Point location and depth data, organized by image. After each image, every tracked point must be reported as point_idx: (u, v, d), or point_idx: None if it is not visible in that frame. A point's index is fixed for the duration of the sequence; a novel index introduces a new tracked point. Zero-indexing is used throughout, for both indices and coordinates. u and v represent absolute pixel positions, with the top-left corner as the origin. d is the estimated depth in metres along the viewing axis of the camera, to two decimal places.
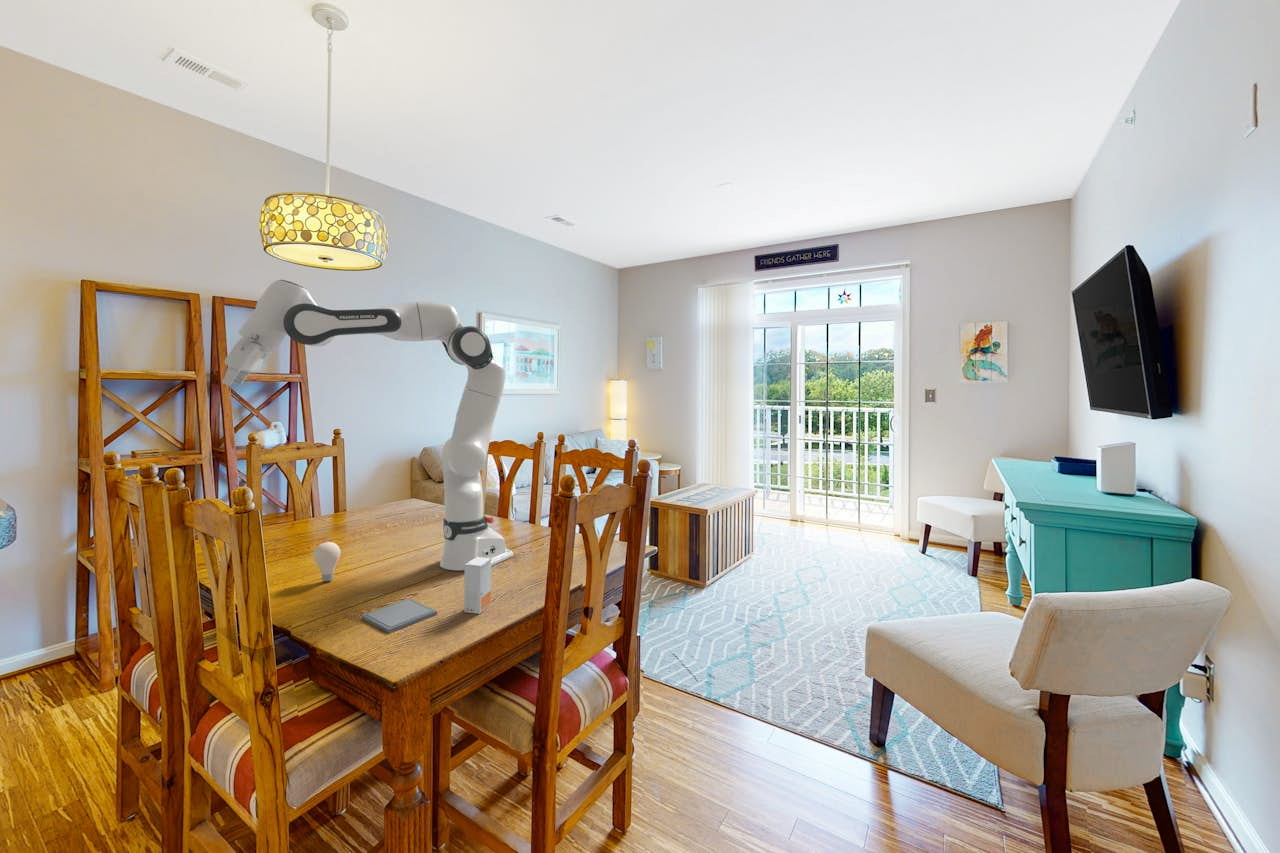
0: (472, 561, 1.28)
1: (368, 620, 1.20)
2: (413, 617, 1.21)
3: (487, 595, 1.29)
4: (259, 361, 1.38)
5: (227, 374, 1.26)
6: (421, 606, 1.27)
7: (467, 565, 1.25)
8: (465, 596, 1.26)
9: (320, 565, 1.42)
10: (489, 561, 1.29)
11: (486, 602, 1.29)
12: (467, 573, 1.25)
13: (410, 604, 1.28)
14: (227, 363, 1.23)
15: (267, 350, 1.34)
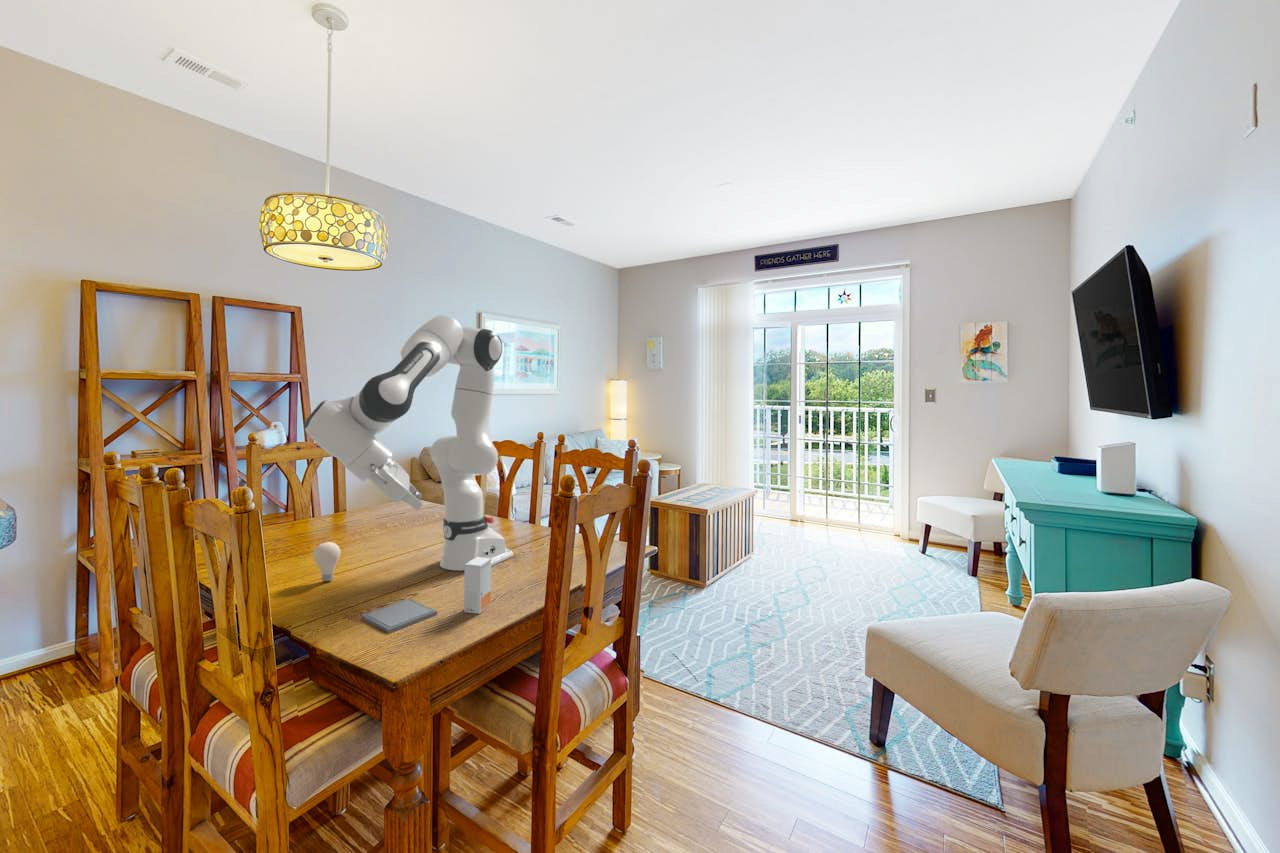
0: (472, 561, 1.28)
1: (368, 620, 1.20)
2: (413, 617, 1.21)
3: (487, 595, 1.29)
4: (400, 471, 1.24)
5: (410, 503, 1.15)
6: (421, 606, 1.27)
7: (467, 565, 1.25)
8: (465, 596, 1.26)
9: (320, 565, 1.42)
10: (489, 561, 1.29)
11: (486, 602, 1.29)
12: (467, 573, 1.25)
13: (410, 604, 1.28)
14: (398, 499, 1.11)
15: (390, 460, 1.18)
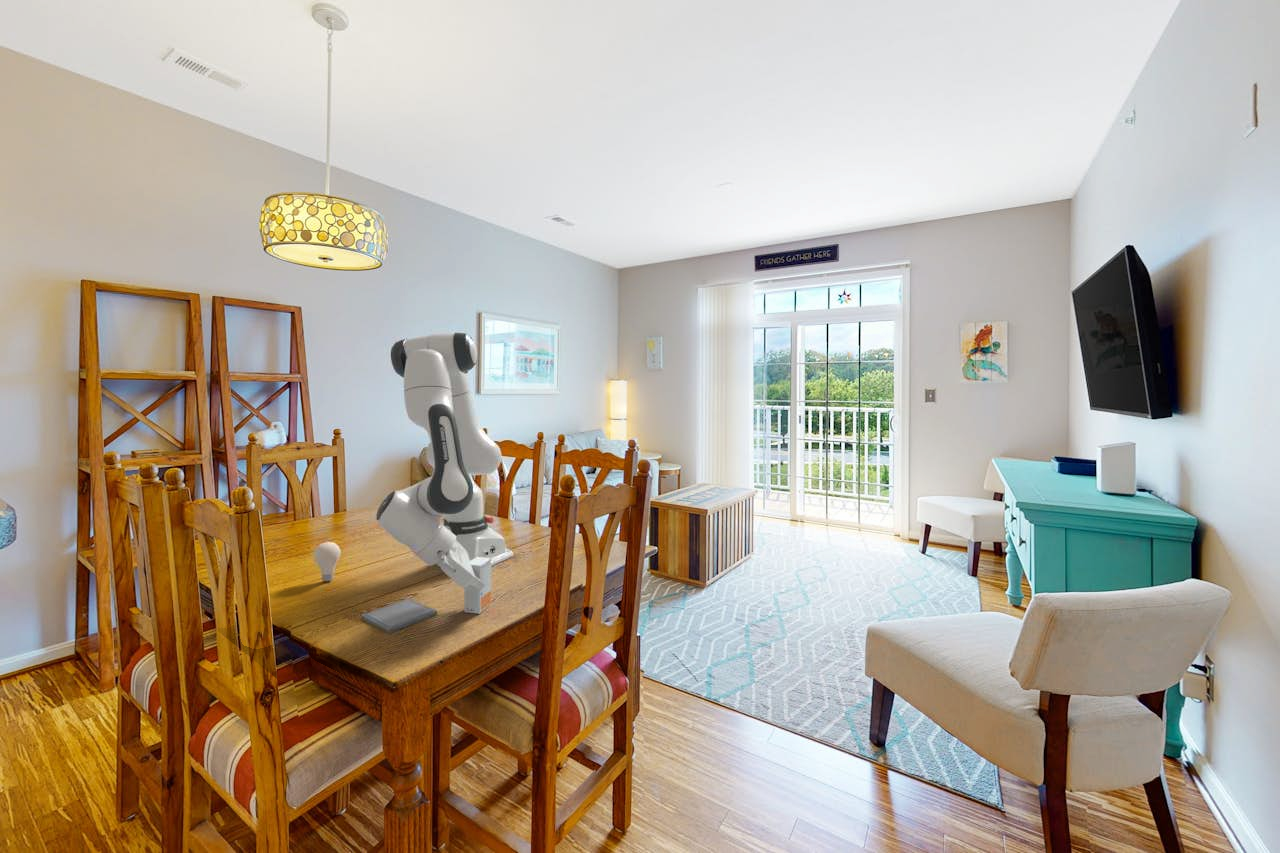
0: (472, 561, 1.28)
1: (368, 620, 1.20)
2: (413, 617, 1.21)
3: (487, 595, 1.29)
4: (460, 550, 1.30)
5: (474, 585, 1.23)
6: (421, 606, 1.27)
7: None
8: (465, 596, 1.26)
9: (320, 565, 1.42)
10: (489, 561, 1.29)
11: (486, 602, 1.29)
12: None
13: (410, 604, 1.28)
14: (466, 586, 1.18)
15: (454, 544, 1.24)
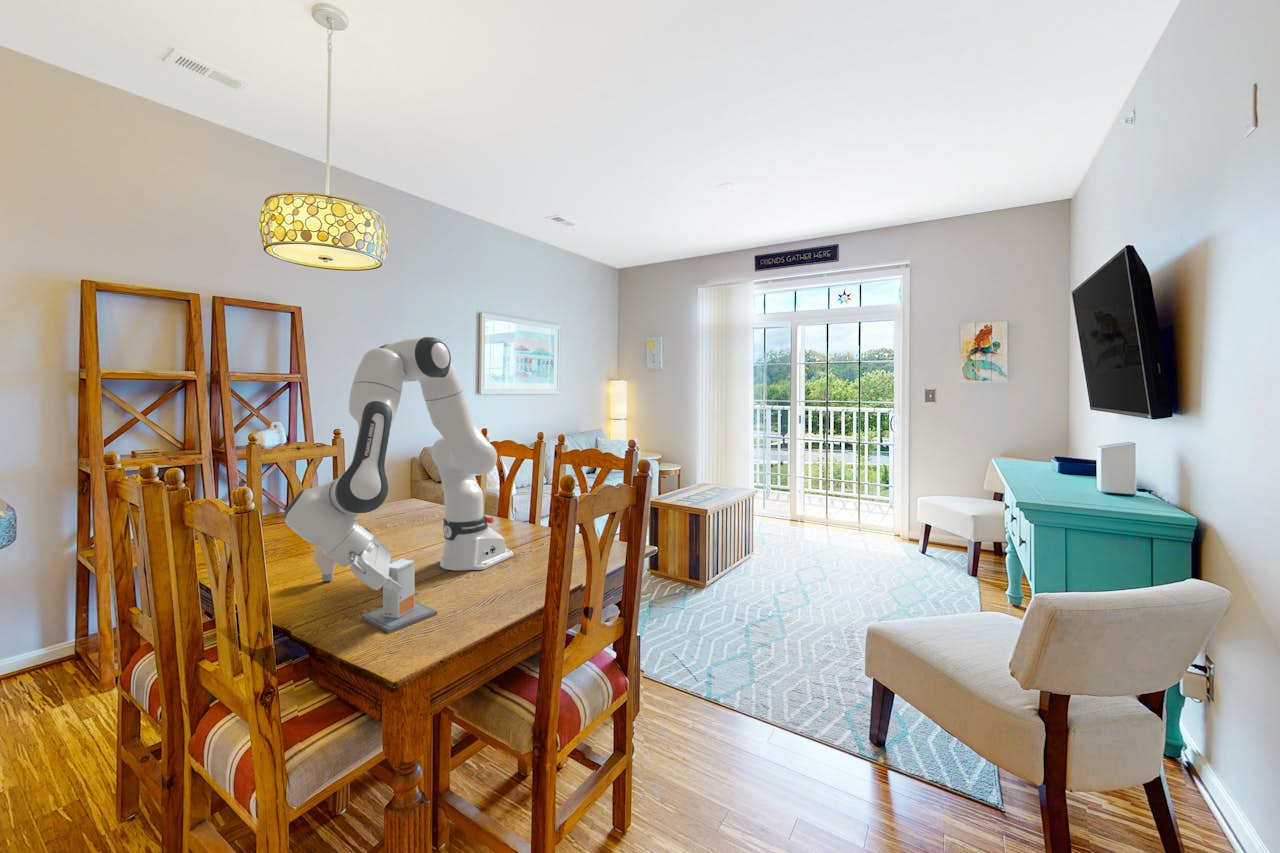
0: (392, 563, 1.23)
1: (368, 620, 1.20)
2: (413, 617, 1.21)
3: (409, 599, 1.24)
4: (380, 551, 1.25)
5: (390, 588, 1.17)
6: (421, 606, 1.27)
7: None
8: (384, 600, 1.21)
9: (320, 565, 1.42)
10: (411, 563, 1.24)
11: (407, 606, 1.23)
12: None
13: None
14: (378, 588, 1.12)
15: (370, 544, 1.19)
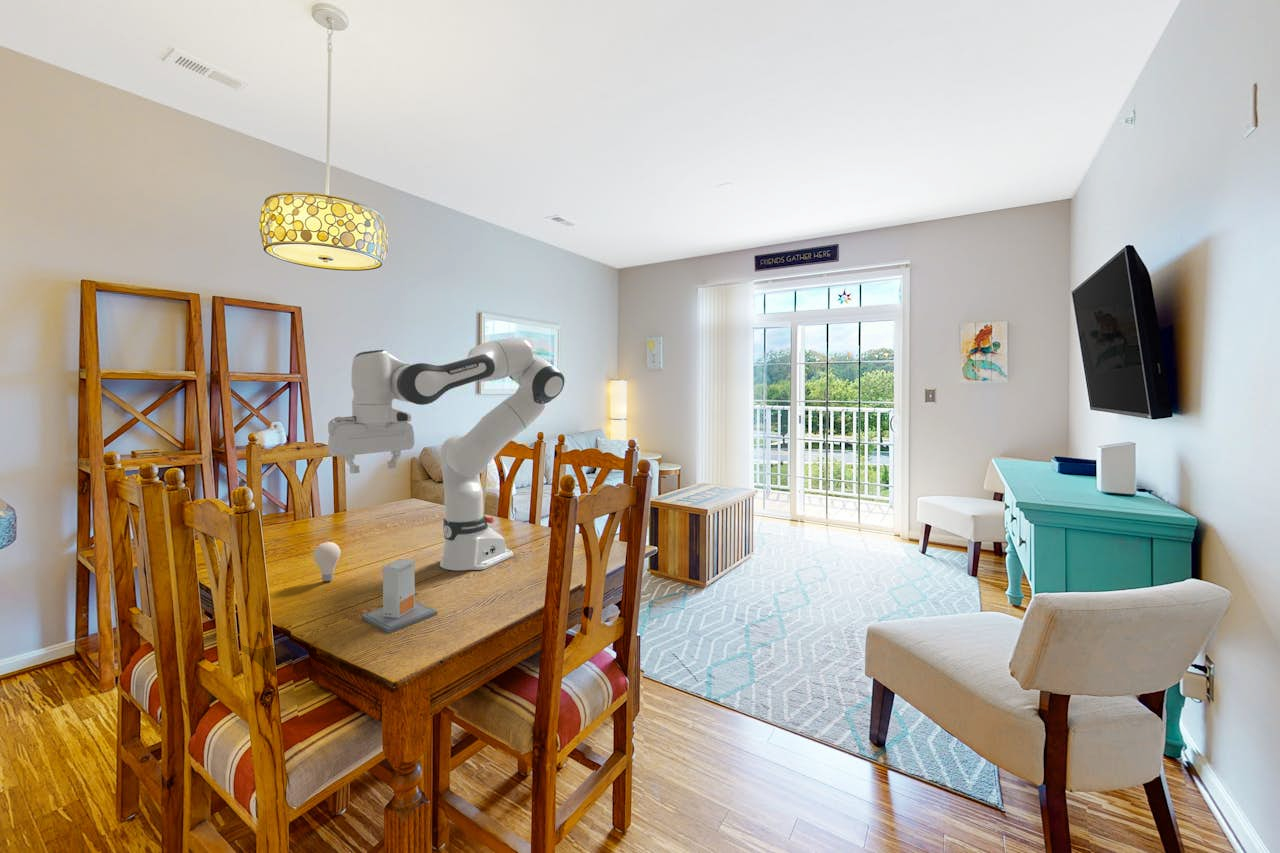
0: (392, 563, 1.23)
1: (368, 620, 1.20)
2: (413, 617, 1.21)
3: (409, 599, 1.24)
4: (394, 438, 1.33)
5: (348, 464, 1.26)
6: (421, 606, 1.27)
7: (385, 567, 1.20)
8: (384, 600, 1.21)
9: (320, 565, 1.42)
10: (411, 564, 1.24)
11: (407, 606, 1.23)
12: (385, 576, 1.20)
13: None
14: None
15: (374, 425, 1.27)
